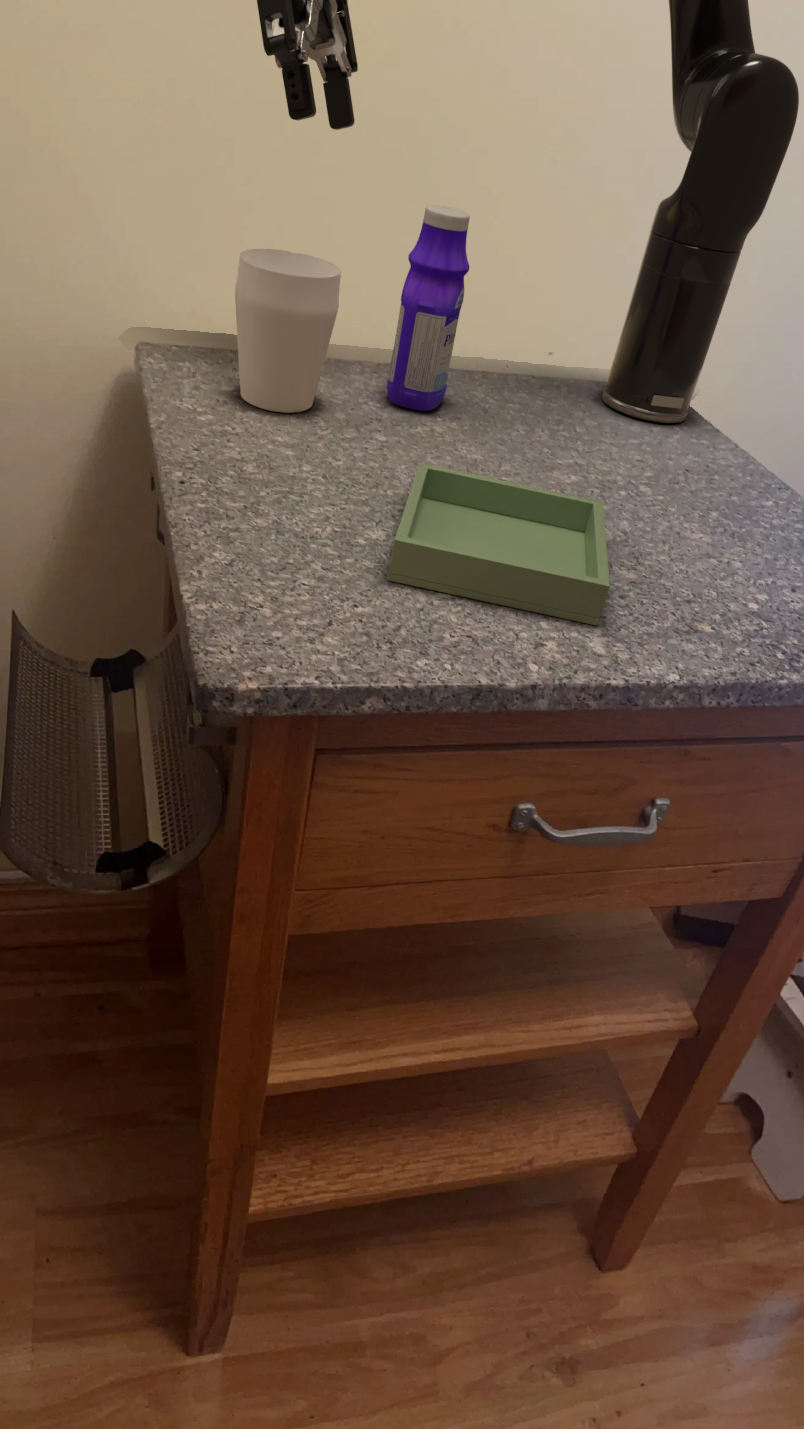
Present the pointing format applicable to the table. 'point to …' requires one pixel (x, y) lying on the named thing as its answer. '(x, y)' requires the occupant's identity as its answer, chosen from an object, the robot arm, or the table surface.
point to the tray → (503, 544)
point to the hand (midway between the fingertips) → (324, 123)
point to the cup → (283, 326)
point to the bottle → (429, 310)
